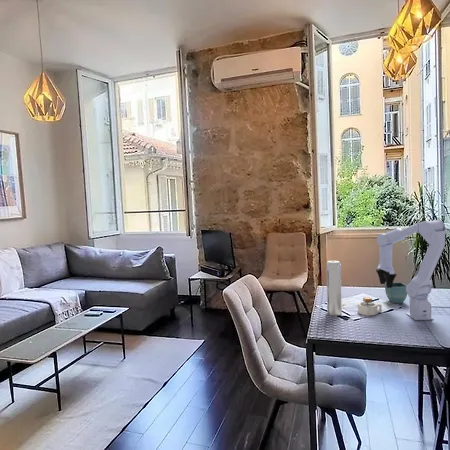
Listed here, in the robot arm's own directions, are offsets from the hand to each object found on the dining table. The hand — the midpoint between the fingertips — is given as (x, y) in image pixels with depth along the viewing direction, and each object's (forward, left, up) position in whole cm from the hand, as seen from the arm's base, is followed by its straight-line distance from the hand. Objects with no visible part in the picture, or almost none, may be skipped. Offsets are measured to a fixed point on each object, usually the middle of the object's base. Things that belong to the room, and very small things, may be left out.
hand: (386, 285), depth 193 cm
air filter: (-7, +27, -11) cm, 30 cm away
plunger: (-8, +12, -10) cm, 17 cm away
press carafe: (-8, +11, -10) cm, 17 cm away
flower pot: (+7, -8, -11) cm, 15 cm away
